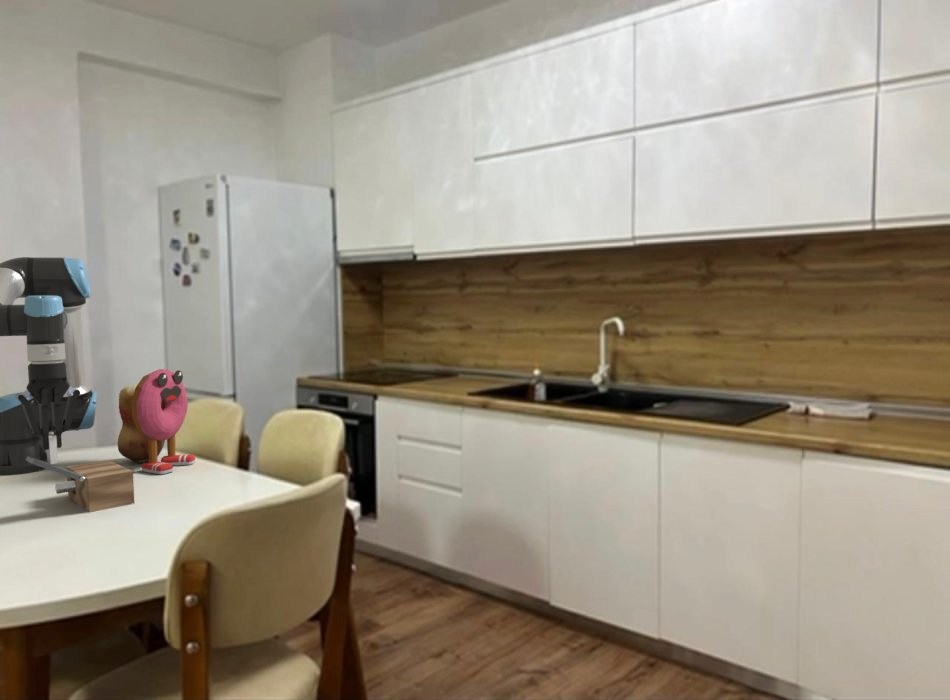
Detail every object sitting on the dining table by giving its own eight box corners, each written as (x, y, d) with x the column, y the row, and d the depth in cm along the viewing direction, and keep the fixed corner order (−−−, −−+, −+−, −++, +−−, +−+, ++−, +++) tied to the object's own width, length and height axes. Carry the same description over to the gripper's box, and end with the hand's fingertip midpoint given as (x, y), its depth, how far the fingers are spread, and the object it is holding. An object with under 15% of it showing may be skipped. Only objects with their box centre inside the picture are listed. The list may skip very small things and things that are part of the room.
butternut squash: (110, 463, 212) (106, 383, 210) (151, 455, 223) (148, 379, 221) (134, 469, 204) (130, 386, 202) (175, 460, 215) (172, 382, 213)
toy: (158, 477, 194) (154, 373, 192) (127, 476, 196) (122, 372, 194) (203, 460, 214) (199, 366, 212) (174, 459, 216) (170, 366, 215)
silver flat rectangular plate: (75, 477, 166) (24, 459, 158) (77, 473, 166) (27, 455, 158) (83, 482, 161) (32, 464, 153) (86, 477, 161) (35, 459, 153)
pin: (120, 484, 180) (119, 466, 180) (126, 488, 177) (125, 469, 176) (54, 496, 170) (53, 476, 169) (60, 500, 166) (59, 480, 166)
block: (68, 497, 174) (66, 466, 173) (110, 489, 181) (109, 460, 181) (89, 512, 161) (88, 479, 161) (134, 503, 168) (132, 471, 168)
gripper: (17, 365, 150) (24, 470, 152) (83, 361, 159) (88, 460, 161) (9, 363, 155) (16, 465, 157) (73, 359, 165) (78, 455, 166)
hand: (52, 462), depth 159 cm, fingers closed
